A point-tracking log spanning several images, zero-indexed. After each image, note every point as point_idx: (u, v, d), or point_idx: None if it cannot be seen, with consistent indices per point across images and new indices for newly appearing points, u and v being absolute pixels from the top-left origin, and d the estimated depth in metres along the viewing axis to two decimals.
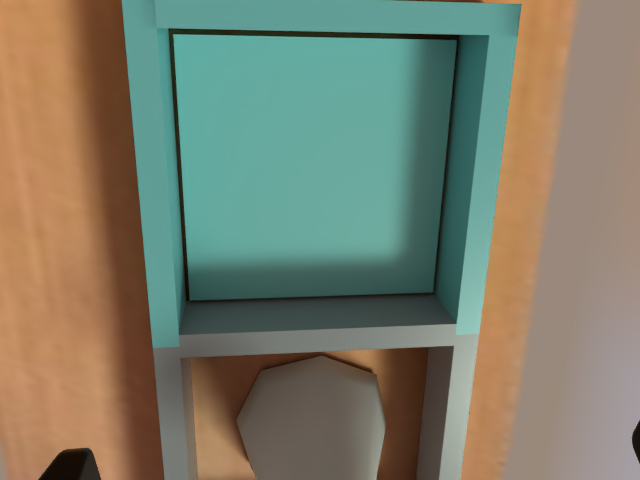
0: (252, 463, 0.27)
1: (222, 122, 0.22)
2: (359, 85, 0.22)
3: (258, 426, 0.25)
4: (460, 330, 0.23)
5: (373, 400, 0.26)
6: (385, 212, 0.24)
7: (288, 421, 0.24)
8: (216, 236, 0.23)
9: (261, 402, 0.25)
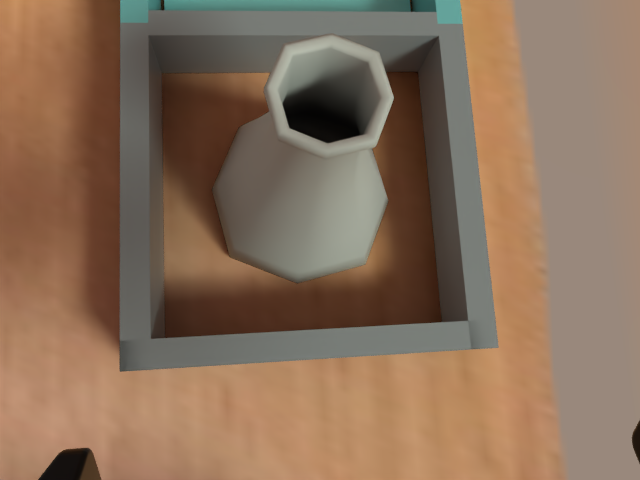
0: (229, 223, 0.22)
1: None
2: None
3: (234, 157, 0.22)
4: (442, 19, 0.22)
5: None
6: None
7: None
8: None
9: (238, 137, 0.22)
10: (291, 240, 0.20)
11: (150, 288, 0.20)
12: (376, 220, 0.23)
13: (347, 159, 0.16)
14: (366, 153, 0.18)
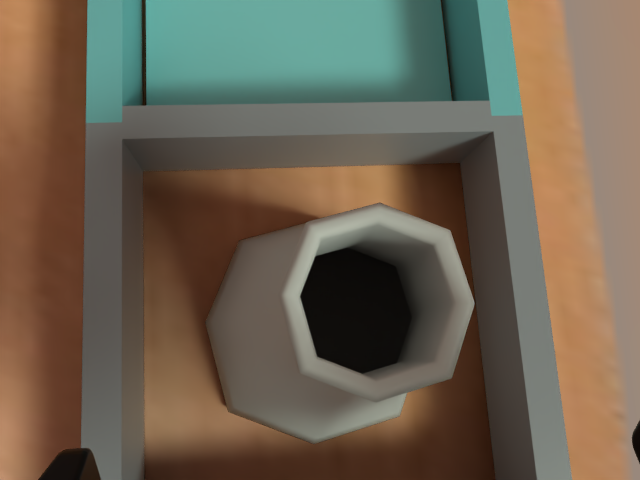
0: (227, 375, 0.17)
1: None
2: None
3: (234, 290, 0.17)
4: (496, 110, 0.18)
5: None
6: (380, 29, 0.21)
7: (275, 244, 0.16)
8: (182, 54, 0.20)
9: (239, 261, 0.18)
10: (309, 412, 0.15)
11: None
12: None
13: None
14: None
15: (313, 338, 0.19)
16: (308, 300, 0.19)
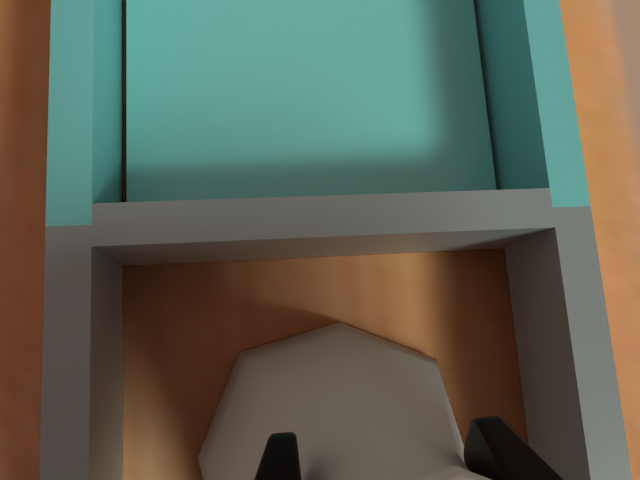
0: None
1: None
2: None
3: (233, 431, 0.14)
4: (558, 200, 0.14)
5: (438, 374, 0.14)
6: (408, 87, 0.17)
7: (285, 381, 0.13)
8: (170, 121, 0.16)
9: (239, 388, 0.14)
10: None
11: None
12: None
13: None
14: None
15: None
16: None
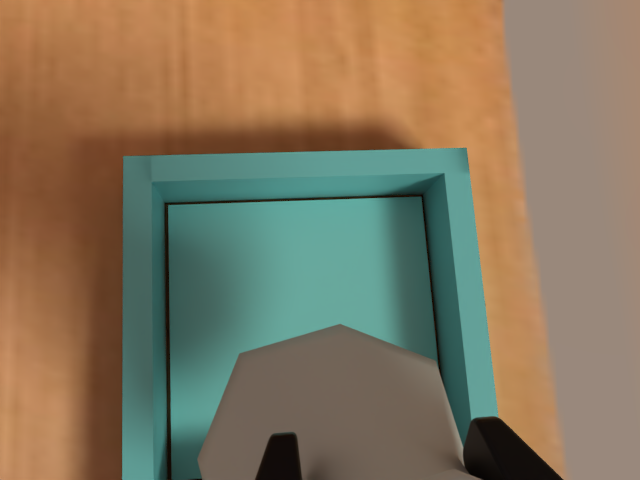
0: None
1: (210, 279, 0.23)
2: (338, 239, 0.24)
3: (232, 432, 0.14)
4: None
5: (438, 376, 0.14)
6: None
7: (285, 383, 0.13)
8: (202, 399, 0.22)
9: (239, 390, 0.14)
10: None
11: None
12: None
13: None
14: None
15: None
16: None
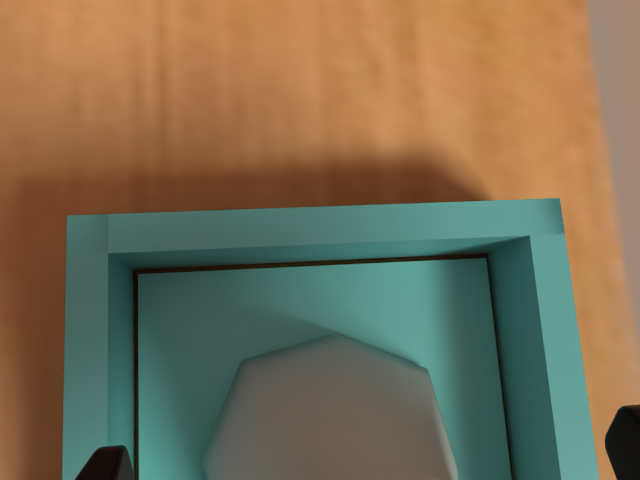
0: None
1: (197, 380, 0.16)
2: (374, 319, 0.17)
3: (235, 435, 0.14)
4: None
5: (428, 384, 0.15)
6: None
7: (285, 390, 0.14)
8: None
9: (241, 395, 0.15)
10: None
11: None
12: None
13: None
14: None
15: None
16: None
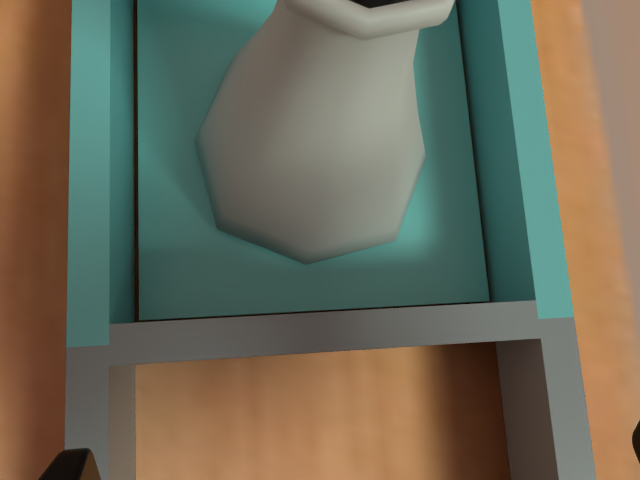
0: (216, 182, 0.16)
1: (191, 79, 0.18)
2: None
3: (223, 92, 0.16)
4: (544, 312, 0.15)
5: None
6: None
7: None
8: (179, 223, 0.17)
9: (230, 69, 0.17)
10: (300, 201, 0.15)
11: None
12: (412, 181, 0.17)
13: (392, 57, 0.10)
14: (411, 69, 0.12)
15: None
16: None
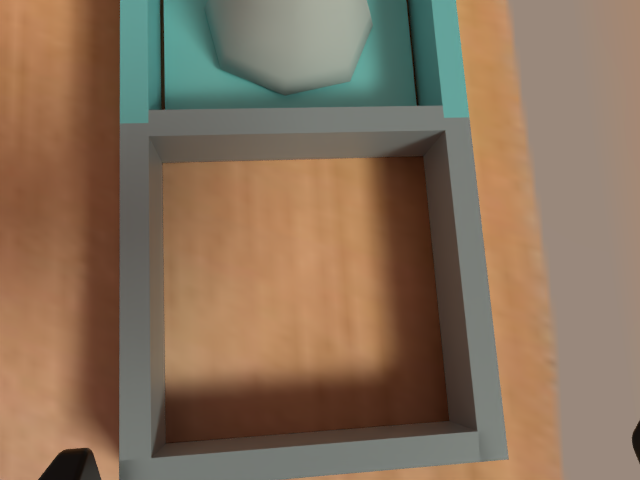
0: (220, 30, 0.23)
1: None
2: None
3: None
4: (448, 113, 0.22)
5: None
6: None
7: None
8: (194, 66, 0.24)
9: None
10: (278, 32, 0.21)
11: (150, 403, 0.19)
12: (360, 34, 0.24)
13: None
14: None
15: None
16: None
